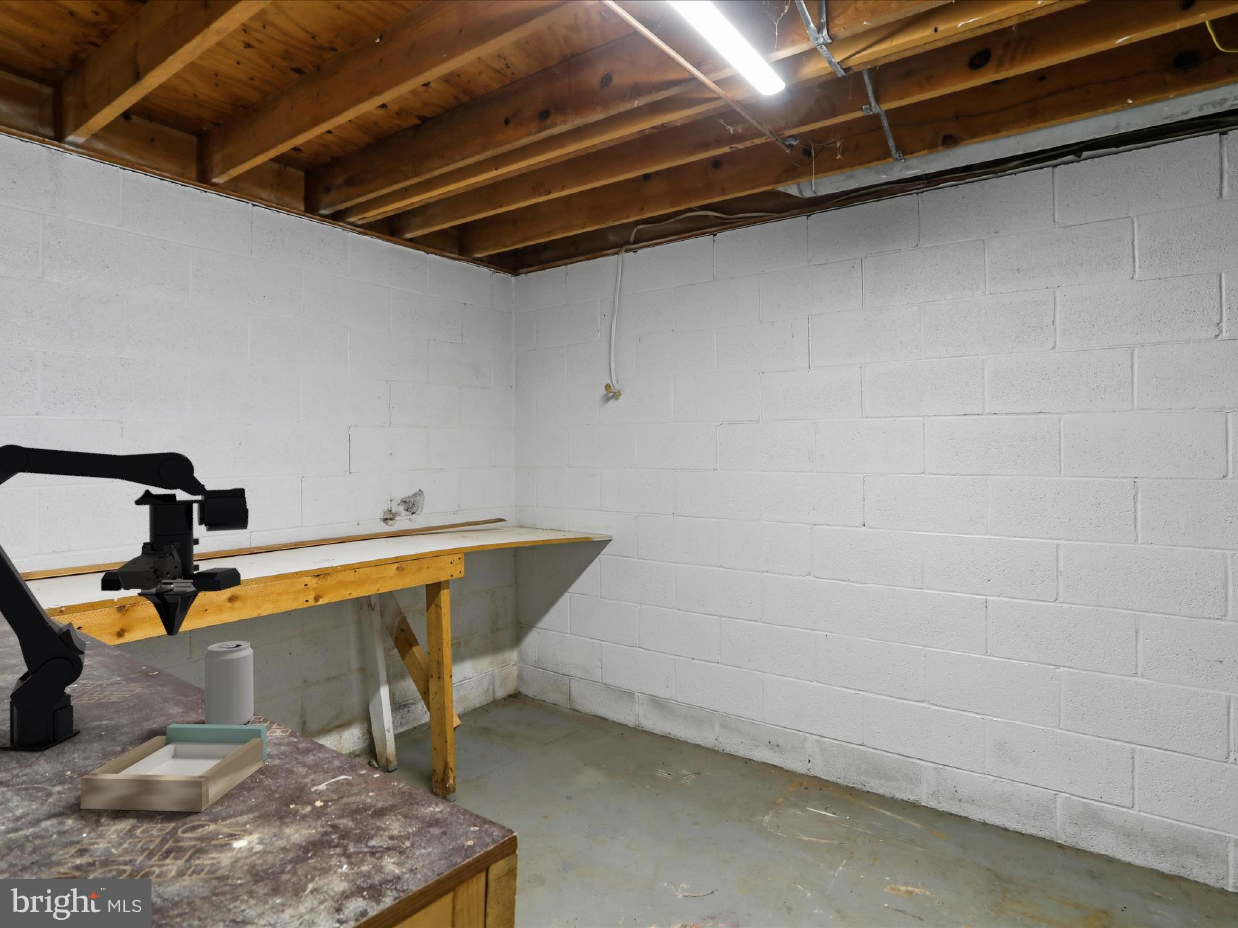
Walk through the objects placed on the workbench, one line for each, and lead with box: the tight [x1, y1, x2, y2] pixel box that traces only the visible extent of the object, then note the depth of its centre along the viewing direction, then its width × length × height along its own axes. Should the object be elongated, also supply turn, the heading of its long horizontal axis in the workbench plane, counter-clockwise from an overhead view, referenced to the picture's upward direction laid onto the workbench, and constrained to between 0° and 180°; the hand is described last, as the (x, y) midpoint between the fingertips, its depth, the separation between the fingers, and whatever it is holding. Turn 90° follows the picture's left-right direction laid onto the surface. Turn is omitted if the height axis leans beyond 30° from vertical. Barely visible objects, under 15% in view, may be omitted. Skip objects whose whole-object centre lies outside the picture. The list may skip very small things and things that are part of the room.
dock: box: [80, 735, 264, 813], centre depth 85 cm, size 14×12×4 cm
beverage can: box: [204, 640, 255, 725], centre depth 105 cm, size 6×6×12 cm
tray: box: [118, 723, 267, 776], centre depth 87 cm, size 13×12×4 cm
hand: (172, 635), depth 107 cm, fingers closed
